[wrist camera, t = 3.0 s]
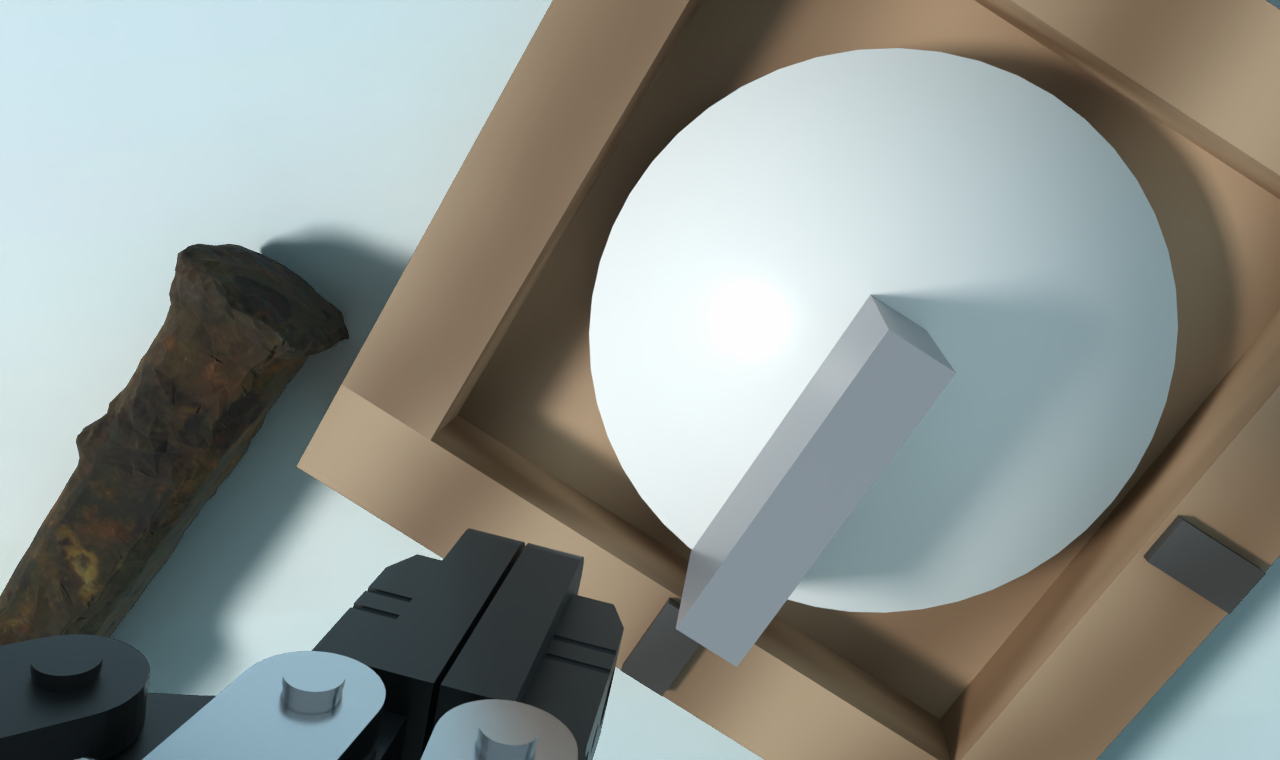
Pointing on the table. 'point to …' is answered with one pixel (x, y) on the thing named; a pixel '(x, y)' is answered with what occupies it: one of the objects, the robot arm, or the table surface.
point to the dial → (879, 337)
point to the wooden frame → (658, 560)
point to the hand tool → (167, 439)
